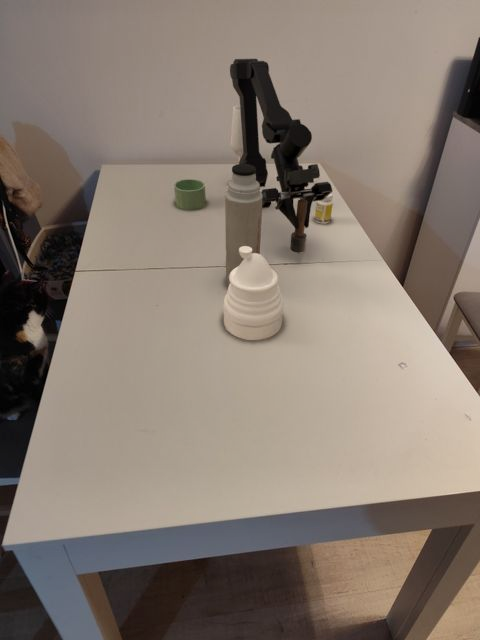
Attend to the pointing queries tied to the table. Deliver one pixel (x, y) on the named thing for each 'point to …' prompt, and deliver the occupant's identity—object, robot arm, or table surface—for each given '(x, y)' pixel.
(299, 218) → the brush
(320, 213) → the supplement bottle
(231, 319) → the honey pot
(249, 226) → the thermos bottle
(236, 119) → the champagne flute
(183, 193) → the jar
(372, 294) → the table surface
